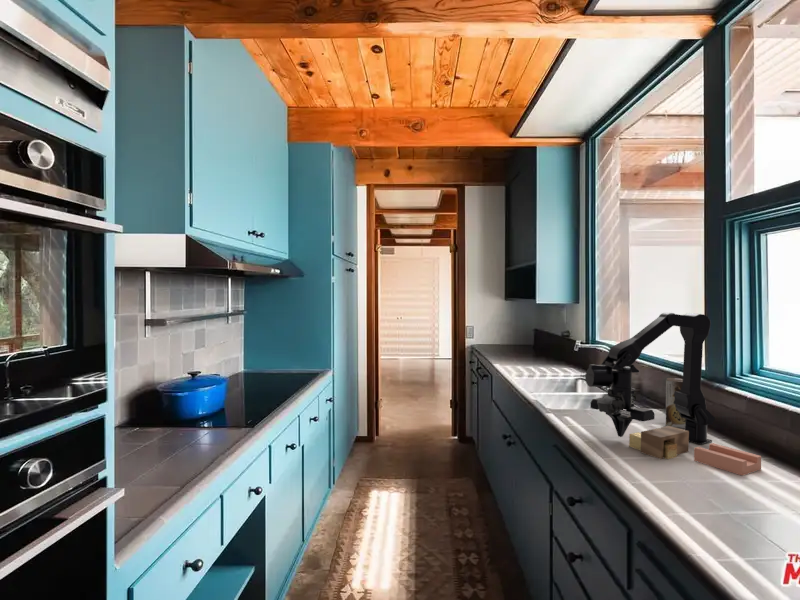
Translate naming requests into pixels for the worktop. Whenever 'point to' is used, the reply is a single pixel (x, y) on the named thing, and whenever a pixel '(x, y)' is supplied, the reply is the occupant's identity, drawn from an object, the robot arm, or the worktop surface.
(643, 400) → the worktop surface
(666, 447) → the brass block
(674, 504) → the worktop surface
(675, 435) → the walnut beam
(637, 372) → the robot arm
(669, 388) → the product box
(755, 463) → the rust cradle
